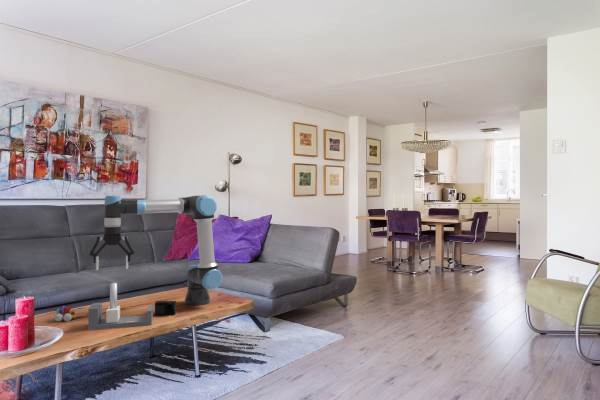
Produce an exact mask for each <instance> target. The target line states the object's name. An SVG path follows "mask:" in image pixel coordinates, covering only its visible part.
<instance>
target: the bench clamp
mask: <svg viewBox="0 0 600 400" xmlns="http://www.w3.org/2000/svg"><path fill="white" fill-rule="evenodd" d="M87 317H88V323H87V324H88V326H87V327H88V331H93V330H94V331H96V330H106V329H107V330H108V329H110V330H111V329H120V328H131V327H132V328H134V327H144V326H152V324H153V319H154V305H153V304H149V305H148V307H147V311H146V315H133V316H120V319H119V321H118V322H114V323H106V317H105V318H103V302H93V303H92V304H91V305H90V306H89V308H88V315H87Z"/></svg>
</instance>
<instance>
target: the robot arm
mask: <svg viewBox="0 0 600 400" xmlns="http://www.w3.org/2000/svg"><path fill="white" fill-rule="evenodd" d="M103 206H104V217H103V219H104V220H103V221H104V224H103V225H104V227H103V232H104V233H103V234H104V235H103V236H100V235H99V236H97V237H96V241H95V243H94V245H93V247H92V248H91V250H90V252H89V256H91V257H93V263H94V264H95V271H98V270H99V264H100V263H99V260H100V259H99V258H100V257H99V253H101V252H102V251H103V249H105V248H106V246H117V245H118V247H119V248H121V250H123V252H124V253H125V254H126V255H125V270H126V269H127V270H128V269H129V263H130V262H131V256H132V255H135V251H134V249H133V247H132V245H131V243H130V241H129V238H128V236H127V235H124V236H122V234H121V233H122V227H121V226H122V215H144V214H159V213H161V214H162V213H163V214H165V213H167V214H168V213H178V214H179V215H181V214H182V215H191V216H193V221H194V222H196V230H197V234H196V235H197V243H198V244H197V245H198V256H199V257H198V258H199V263H198V264H189V265H188V267H187V290H186V294H185V297H184V305H187V306H201V305H206V304H209V303H211V296H210V294H209V291H208V290H214V289H217V288H218V287H219V286H220V285H221V283H222V281H223V275H222V272H221V271H220V270H219V264H218V263H217V262H216V259H215V247H214V246H215V245H214V233H213V222H212V221H213V220H214V219H215V213H216V211H217V208H218V207H217V202H216V200H215V199H214V198H213V197H212V196H210V195H206V194H203V195H190V196H186V197H178V198H177V199H175V198H174V199H122V196H120V195H106V196H105V197H104V205H103ZM122 240H123V241H124V242H125V244H126V246H127V248H128V249H127V248H126V247H125V245H123V243H122V242H121V241H122ZM101 241H104V243H103V244H102V245H101V246H100V247H99V249H97V248H98V246H99V244H100V242H101ZM96 250H97V251H96ZM95 251H96V252H95Z"/></svg>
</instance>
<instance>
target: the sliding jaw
mask: <svg viewBox="0 0 600 400" xmlns="http://www.w3.org/2000/svg"><path fill="white" fill-rule="evenodd" d="M105 311H106V312H105V313H106V315H105V318H106V323H114V322H118V321H119V319H120V317H121V305H118V282H110V283H109V306H108V307H107V309H106V310H105Z"/></svg>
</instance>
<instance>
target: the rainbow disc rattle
mask: <svg viewBox="0 0 600 400" xmlns="http://www.w3.org/2000/svg"><path fill="white" fill-rule="evenodd" d="M71 309H72V307H71V306H70V305H69V306H66V305H63V306H62V307H61V308H57V309H56V314H55V315H54V320H55V322H59V323H60V322H62V321H65V322H70V321H71V320H72V319H74V318H76V316H77V312H76V309H72V310H71Z"/></svg>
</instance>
